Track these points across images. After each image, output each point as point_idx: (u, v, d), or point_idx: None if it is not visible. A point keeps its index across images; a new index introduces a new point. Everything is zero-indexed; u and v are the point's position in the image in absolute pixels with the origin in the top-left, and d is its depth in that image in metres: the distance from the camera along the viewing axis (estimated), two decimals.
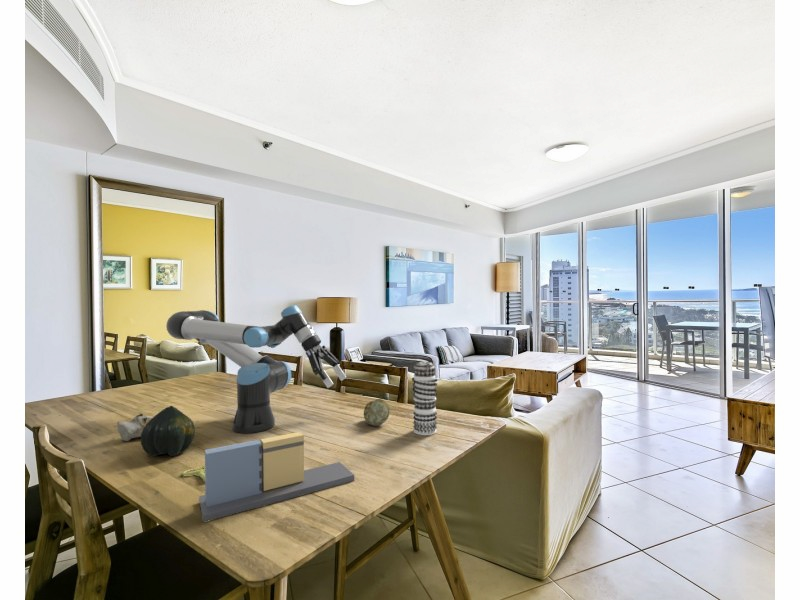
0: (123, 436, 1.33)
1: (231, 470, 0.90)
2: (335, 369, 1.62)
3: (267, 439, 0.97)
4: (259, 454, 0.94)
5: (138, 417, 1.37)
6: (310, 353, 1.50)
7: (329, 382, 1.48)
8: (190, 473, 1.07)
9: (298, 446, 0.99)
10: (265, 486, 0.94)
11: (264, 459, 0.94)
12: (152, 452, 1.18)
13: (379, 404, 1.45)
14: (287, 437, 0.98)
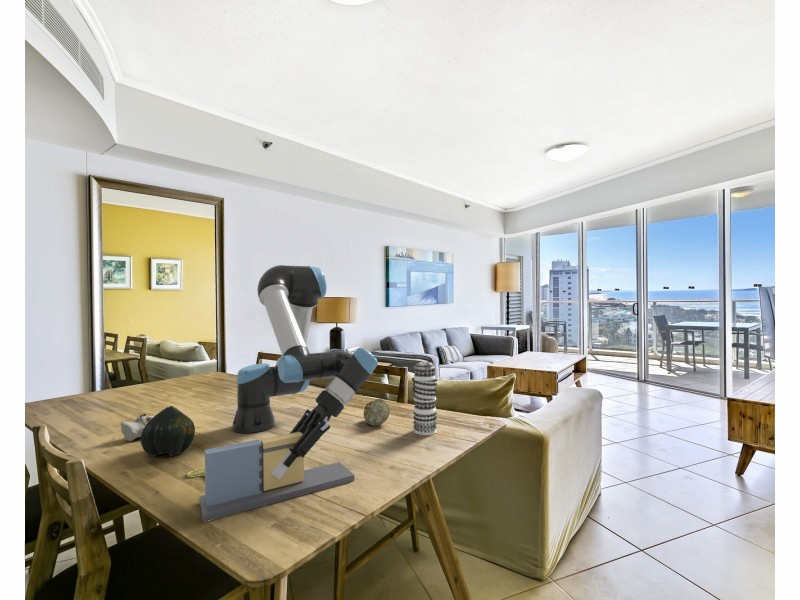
0: (127, 436, 1.33)
1: (231, 470, 0.90)
2: None
3: (267, 439, 0.97)
4: (259, 454, 0.94)
5: (142, 417, 1.37)
6: (323, 430, 0.98)
7: (281, 473, 0.96)
8: (195, 474, 1.06)
9: None
10: (265, 486, 0.94)
11: (264, 459, 0.94)
12: (152, 452, 1.18)
13: (379, 404, 1.45)
14: (287, 437, 0.98)
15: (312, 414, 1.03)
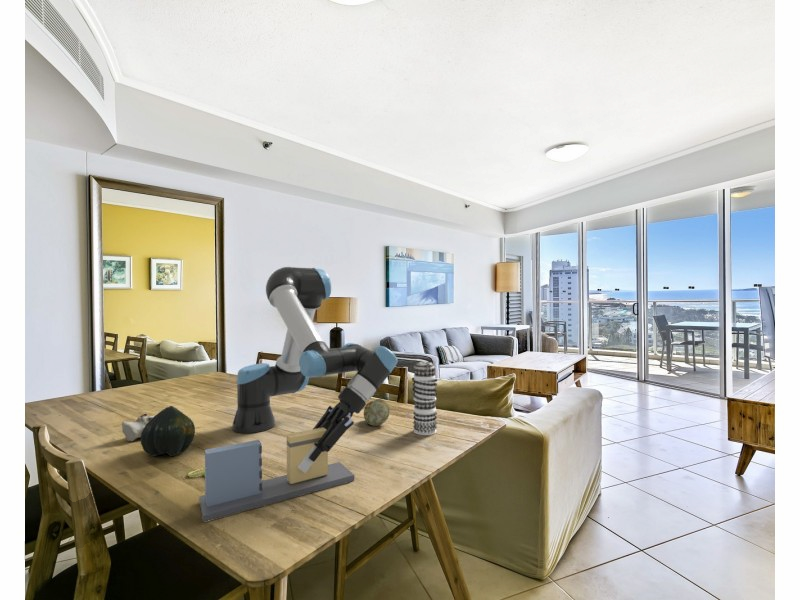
0: (128, 436, 1.33)
1: (231, 470, 0.90)
2: None
3: (293, 434, 1.00)
4: (259, 454, 0.94)
5: (143, 417, 1.37)
6: (347, 426, 1.01)
7: (306, 467, 0.99)
8: (197, 474, 1.06)
9: None
10: (291, 479, 0.98)
11: (291, 453, 0.98)
12: (152, 452, 1.18)
13: (379, 404, 1.45)
14: (312, 432, 1.02)
15: (335, 410, 1.06)
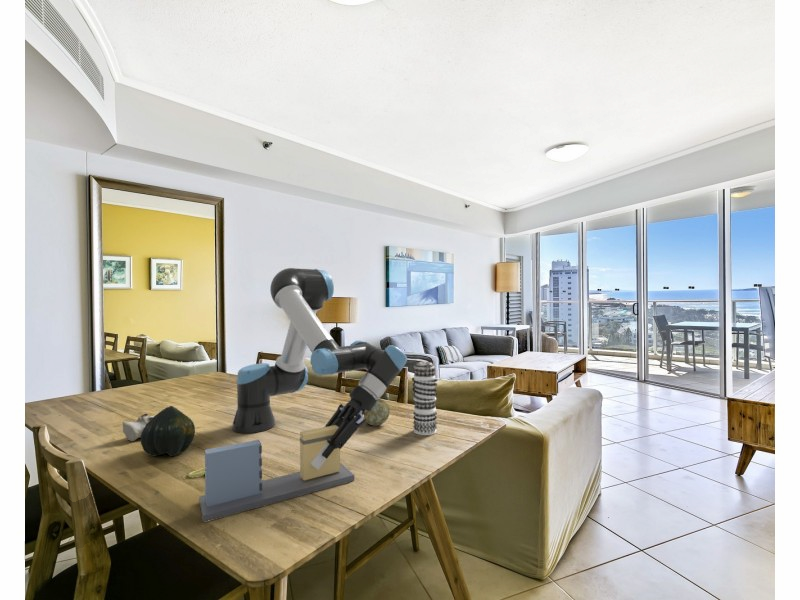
0: (129, 436, 1.33)
1: (231, 470, 0.90)
2: None
3: (306, 432, 1.02)
4: (259, 454, 0.94)
5: (143, 417, 1.37)
6: (359, 423, 1.03)
7: (319, 463, 1.01)
8: (198, 474, 1.06)
9: None
10: (305, 476, 1.00)
11: (304, 450, 1.00)
12: (152, 452, 1.18)
13: (379, 404, 1.45)
14: (325, 429, 1.03)
15: (346, 408, 1.08)
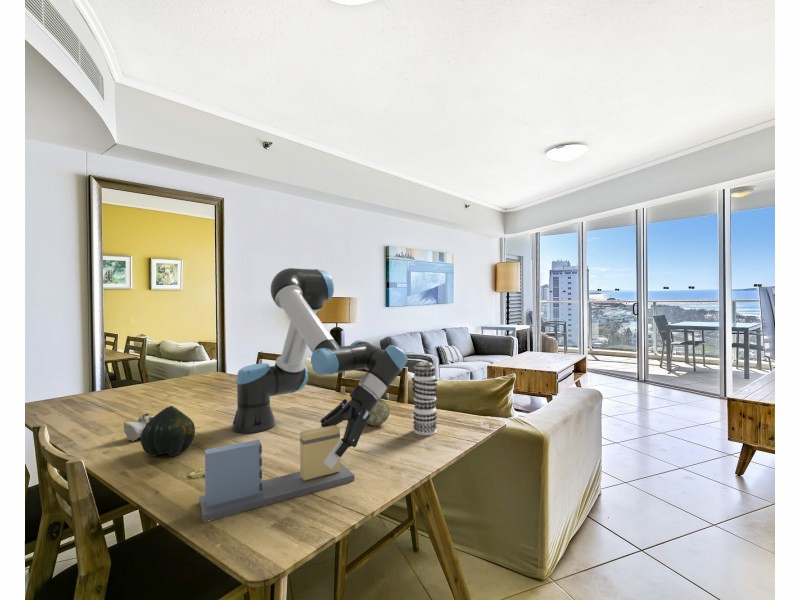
0: (130, 436, 1.33)
1: (231, 470, 0.90)
2: None
3: (306, 431, 1.02)
4: (259, 454, 0.94)
5: (144, 417, 1.37)
6: (365, 418, 1.03)
7: (333, 462, 0.98)
8: (199, 474, 1.06)
9: (335, 439, 1.04)
10: (305, 476, 1.00)
11: (304, 450, 1.00)
12: (152, 452, 1.18)
13: (379, 404, 1.45)
14: (325, 429, 1.03)
15: (346, 408, 1.09)
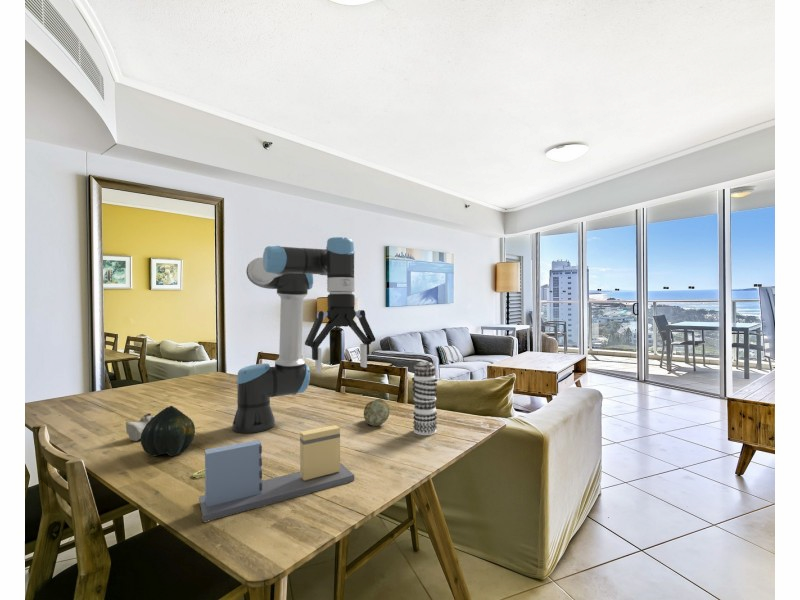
0: (133, 436, 1.33)
1: (231, 470, 0.90)
2: (361, 348, 1.12)
3: (306, 431, 1.02)
4: (259, 454, 0.94)
5: (146, 417, 1.37)
6: (318, 317, 1.04)
7: (317, 367, 1.04)
8: (203, 474, 1.06)
9: (335, 439, 1.04)
10: (305, 476, 1.00)
11: (304, 450, 1.00)
12: (152, 452, 1.18)
13: (379, 404, 1.45)
14: (325, 429, 1.03)
15: None
